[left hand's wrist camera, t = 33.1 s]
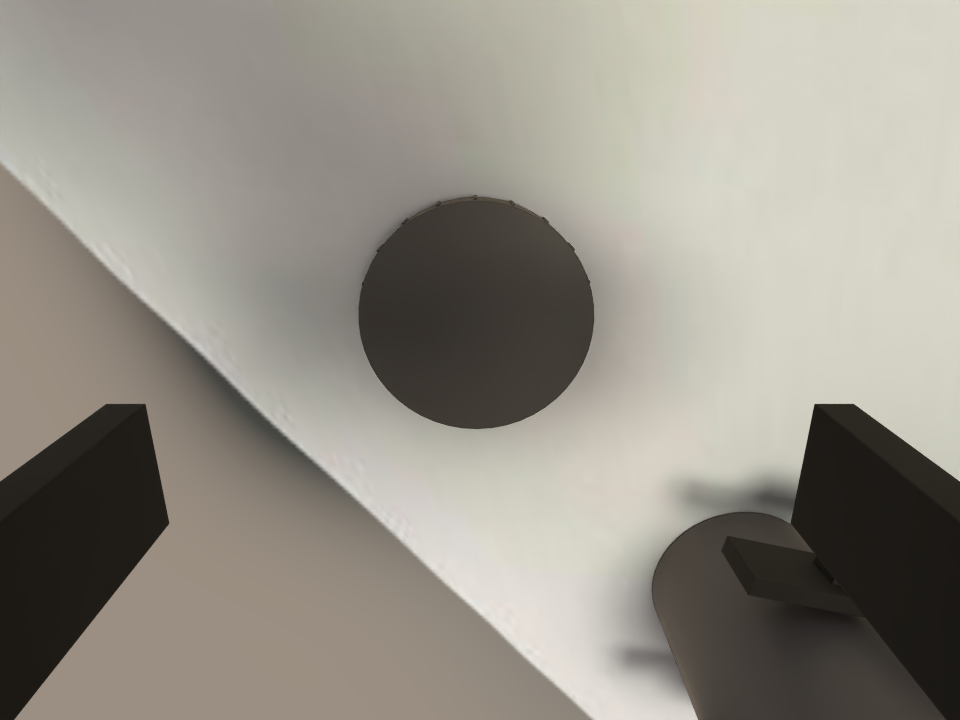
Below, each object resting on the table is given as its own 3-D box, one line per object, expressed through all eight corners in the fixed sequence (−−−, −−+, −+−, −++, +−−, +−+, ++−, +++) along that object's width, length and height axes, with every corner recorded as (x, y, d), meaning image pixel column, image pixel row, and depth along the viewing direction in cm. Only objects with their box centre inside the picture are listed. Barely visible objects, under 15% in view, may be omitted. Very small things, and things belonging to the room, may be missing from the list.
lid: (477, 449, 30) (477, 471, 28) (320, 310, 28) (308, 323, 26) (631, 308, 28) (643, 320, 26) (474, 145, 25) (474, 144, 23)
